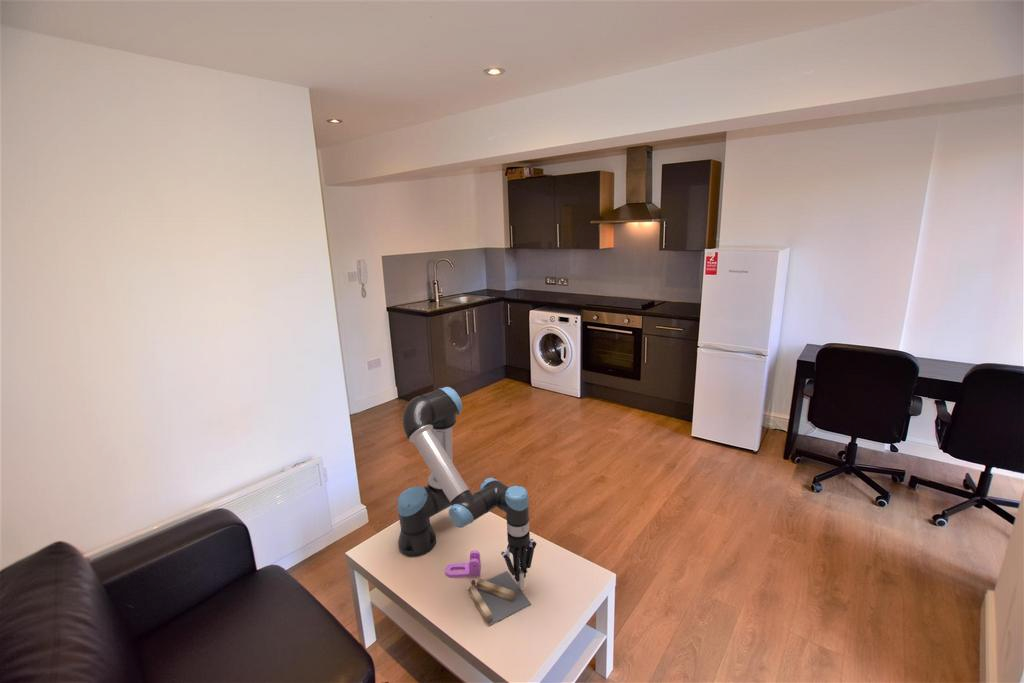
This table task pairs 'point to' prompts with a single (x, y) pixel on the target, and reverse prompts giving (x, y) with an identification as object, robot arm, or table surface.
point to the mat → (500, 605)
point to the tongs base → (480, 602)
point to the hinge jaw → (496, 589)
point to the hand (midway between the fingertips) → (520, 586)
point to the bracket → (465, 567)
